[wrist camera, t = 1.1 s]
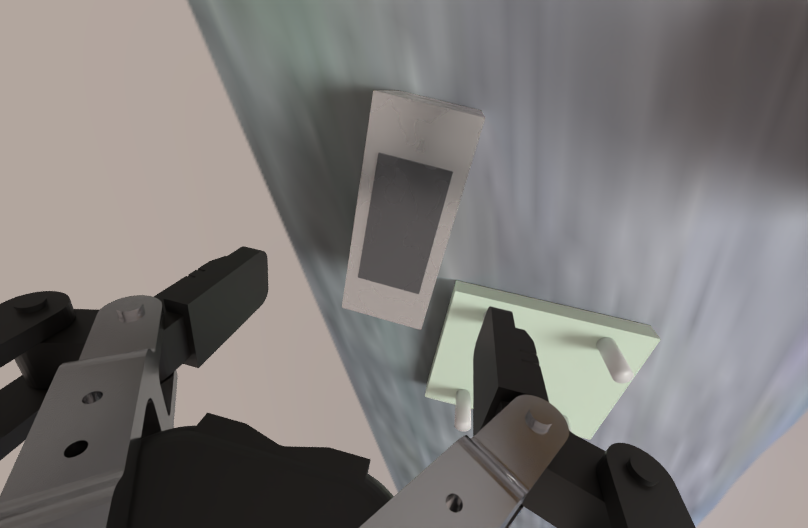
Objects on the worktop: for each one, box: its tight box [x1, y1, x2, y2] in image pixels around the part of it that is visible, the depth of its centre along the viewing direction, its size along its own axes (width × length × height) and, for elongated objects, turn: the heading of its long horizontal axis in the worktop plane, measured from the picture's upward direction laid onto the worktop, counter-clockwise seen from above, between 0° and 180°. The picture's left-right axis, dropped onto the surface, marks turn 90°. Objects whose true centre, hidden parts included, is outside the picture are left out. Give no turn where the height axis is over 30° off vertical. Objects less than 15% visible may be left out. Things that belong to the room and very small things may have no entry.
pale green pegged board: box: [425, 280, 661, 440], centre depth 25 cm, size 14×11×4 cm
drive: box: [342, 90, 485, 330], centre depth 20 cm, size 12×5×6 cm, turn 168°
